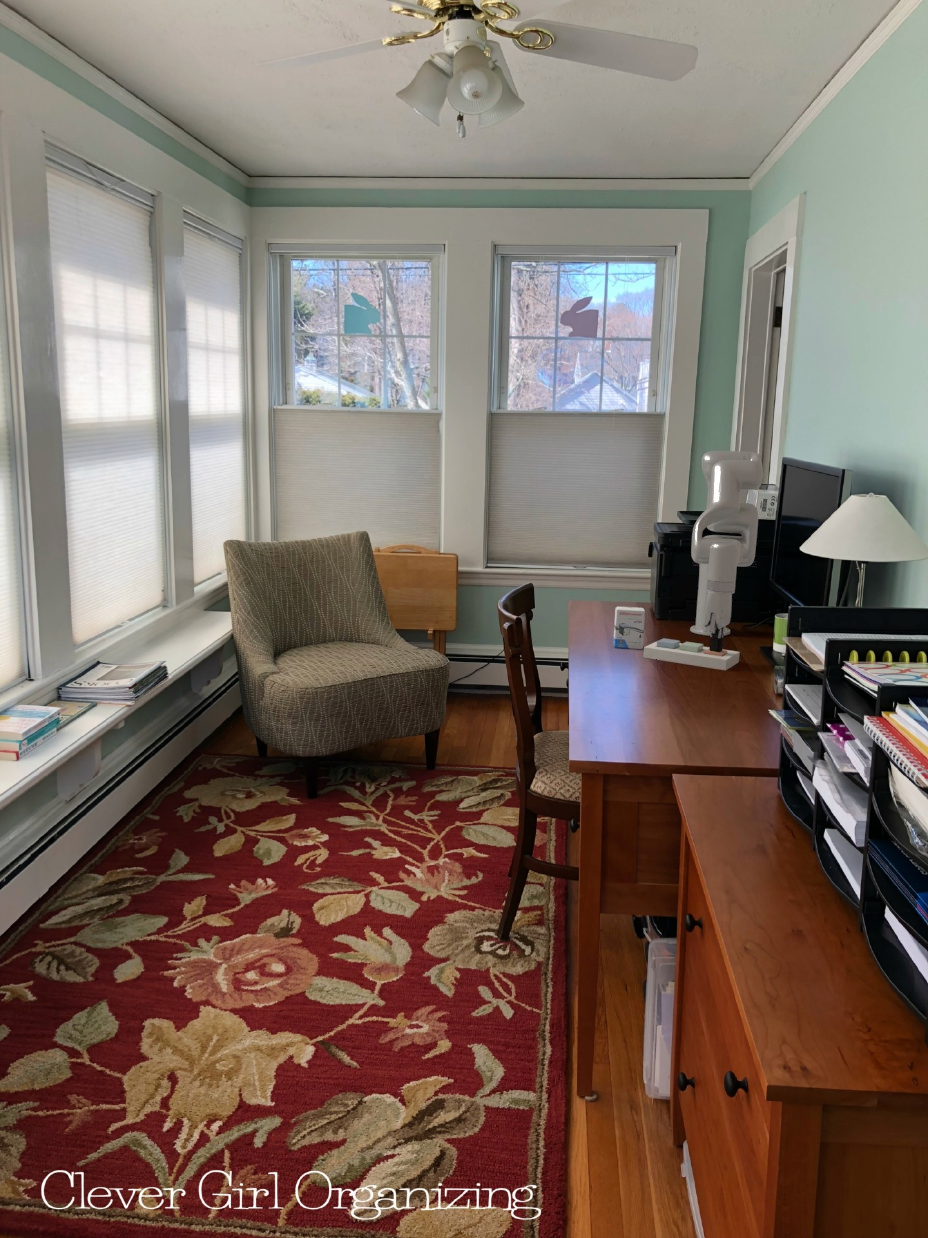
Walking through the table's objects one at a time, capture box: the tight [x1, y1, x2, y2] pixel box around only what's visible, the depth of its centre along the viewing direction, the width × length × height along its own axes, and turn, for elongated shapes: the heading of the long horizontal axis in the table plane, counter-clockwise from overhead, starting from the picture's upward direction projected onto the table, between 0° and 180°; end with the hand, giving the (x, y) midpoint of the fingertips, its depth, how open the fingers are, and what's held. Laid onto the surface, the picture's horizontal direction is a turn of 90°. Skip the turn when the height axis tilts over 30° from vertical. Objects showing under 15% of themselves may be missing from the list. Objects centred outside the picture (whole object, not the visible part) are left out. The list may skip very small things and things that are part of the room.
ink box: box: [612, 606, 646, 650], centre depth 290 cm, size 9×5×12 cm, turn 84°
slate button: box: [657, 638, 681, 649], centre depth 280 cm, size 5×5×3 cm
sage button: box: [680, 641, 704, 653], centre depth 276 cm, size 5×5×3 cm
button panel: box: [642, 640, 741, 671], centre depth 276 cm, size 12×24×3 cm, turn 58°
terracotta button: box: [704, 648, 727, 657], centre depth 273 cm, size 5×5×3 cm
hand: (715, 650), depth 272 cm, fingers closed
